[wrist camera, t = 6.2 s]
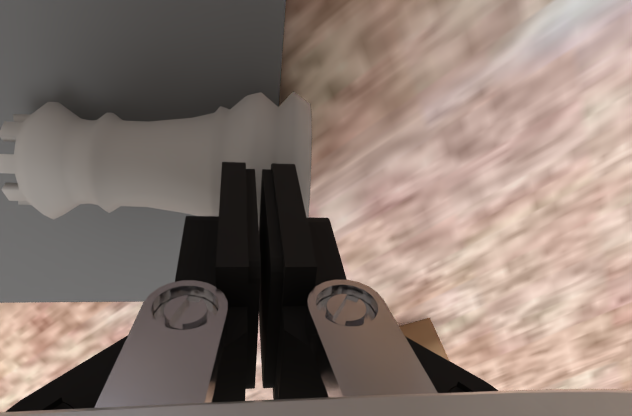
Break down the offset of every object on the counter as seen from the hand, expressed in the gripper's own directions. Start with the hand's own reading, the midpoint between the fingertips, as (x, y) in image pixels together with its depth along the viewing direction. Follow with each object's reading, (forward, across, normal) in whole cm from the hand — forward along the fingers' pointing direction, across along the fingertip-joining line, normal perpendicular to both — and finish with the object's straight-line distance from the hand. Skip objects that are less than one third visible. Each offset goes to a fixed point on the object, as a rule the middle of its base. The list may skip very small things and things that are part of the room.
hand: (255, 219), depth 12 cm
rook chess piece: (+3, -2, 0) cm, 3 cm away
